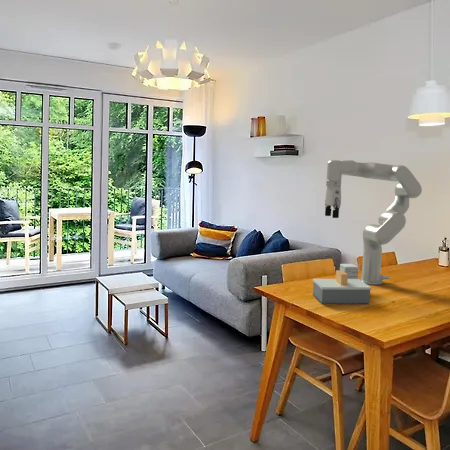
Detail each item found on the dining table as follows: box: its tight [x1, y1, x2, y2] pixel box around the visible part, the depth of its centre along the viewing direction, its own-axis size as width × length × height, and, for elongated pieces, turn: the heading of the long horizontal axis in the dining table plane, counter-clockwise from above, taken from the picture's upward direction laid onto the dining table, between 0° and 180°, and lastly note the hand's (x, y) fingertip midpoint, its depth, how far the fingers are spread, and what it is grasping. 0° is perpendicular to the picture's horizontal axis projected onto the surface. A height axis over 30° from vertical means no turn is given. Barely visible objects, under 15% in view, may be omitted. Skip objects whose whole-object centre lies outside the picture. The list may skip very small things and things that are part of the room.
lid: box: [312, 269, 372, 291], centre depth 207 cm, size 23×16×7 cm
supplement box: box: [339, 263, 360, 279], centre depth 226 cm, size 7×7×13 cm
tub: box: [312, 281, 371, 305], centre depth 208 cm, size 22×15×7 cm
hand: (331, 216), depth 234 cm, fingers open, 9 cm apart
